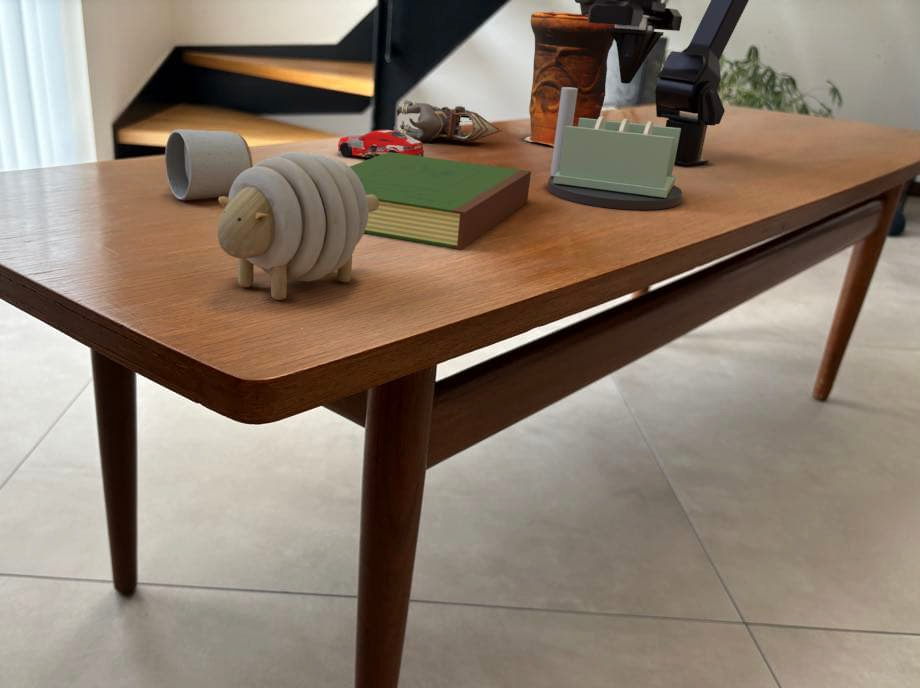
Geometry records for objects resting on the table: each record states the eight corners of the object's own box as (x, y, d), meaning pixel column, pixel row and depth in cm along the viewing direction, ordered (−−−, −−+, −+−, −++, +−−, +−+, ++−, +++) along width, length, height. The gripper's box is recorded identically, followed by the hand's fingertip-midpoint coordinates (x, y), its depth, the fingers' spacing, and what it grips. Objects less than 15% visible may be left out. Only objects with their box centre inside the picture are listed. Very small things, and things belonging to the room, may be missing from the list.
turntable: (605, 175, 125) (606, 167, 125) (708, 201, 113) (710, 192, 113) (520, 186, 116) (521, 177, 115) (622, 216, 104) (623, 206, 103)
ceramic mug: (257, 200, 102) (256, 131, 98) (191, 207, 97) (187, 135, 94) (217, 183, 109) (215, 118, 106) (154, 188, 105) (150, 121, 102)
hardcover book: (461, 249, 88) (465, 212, 86) (296, 221, 94) (296, 186, 93) (528, 201, 109) (532, 170, 107) (389, 180, 115) (391, 151, 113)
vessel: (500, 139, 148) (514, 10, 140) (544, 132, 158) (560, 10, 149) (575, 153, 140) (595, 16, 131) (617, 144, 150) (638, 16, 141)
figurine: (410, 96, 153) (507, 104, 150) (407, 132, 155) (502, 141, 153) (388, 102, 135) (498, 112, 132) (385, 143, 137) (493, 154, 134)
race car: (330, 155, 129) (330, 127, 127) (349, 150, 133) (350, 122, 131) (409, 167, 123) (411, 138, 121) (427, 162, 128) (429, 133, 126)
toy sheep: (184, 289, 73) (177, 152, 68) (323, 251, 85) (326, 132, 80) (274, 323, 67) (273, 176, 62) (409, 277, 79) (418, 150, 74)
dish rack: (541, 181, 113) (553, 90, 108) (558, 168, 121) (570, 83, 116) (665, 198, 108) (684, 103, 103) (674, 183, 116) (692, 95, 111)
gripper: (618, -36, 129) (600, 78, 135) (560, -49, 115) (543, 77, 122) (693, -33, 123) (670, 85, 129) (641, -48, 109) (618, 86, 116)
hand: (625, 83), depth 124 cm, fingers closed
